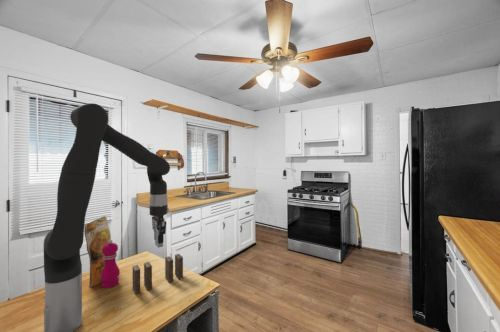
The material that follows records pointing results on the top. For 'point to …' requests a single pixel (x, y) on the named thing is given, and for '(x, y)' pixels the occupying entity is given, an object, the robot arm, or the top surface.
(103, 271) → the pepper mill
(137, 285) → the domino
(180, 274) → the domino
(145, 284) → the domino
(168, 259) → the domino
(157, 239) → the domino
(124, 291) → the top surface
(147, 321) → the top surface
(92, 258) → the pancake mix bag
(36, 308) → the top surface
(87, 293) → the top surface
